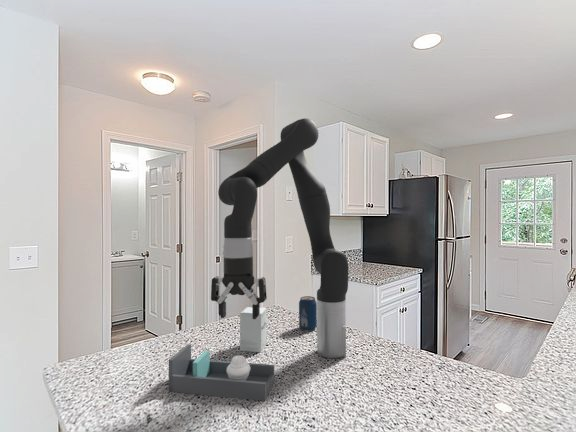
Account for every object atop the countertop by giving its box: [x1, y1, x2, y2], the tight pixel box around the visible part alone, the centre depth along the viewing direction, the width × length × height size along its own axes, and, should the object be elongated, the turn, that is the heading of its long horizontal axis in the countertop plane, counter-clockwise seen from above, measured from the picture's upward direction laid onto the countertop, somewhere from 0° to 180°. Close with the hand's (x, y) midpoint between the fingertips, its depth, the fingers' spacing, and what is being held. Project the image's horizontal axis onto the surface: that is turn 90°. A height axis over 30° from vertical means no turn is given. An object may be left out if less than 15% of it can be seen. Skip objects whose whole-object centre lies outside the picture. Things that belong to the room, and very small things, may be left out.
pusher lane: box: [168, 343, 275, 402], centre depth 83 cm, size 25×10×8 cm, turn 80°
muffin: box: [226, 355, 251, 381], centre depth 83 cm, size 6×6×7 cm
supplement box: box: [239, 306, 267, 353], centre depth 108 cm, size 7×7×13 cm
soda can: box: [298, 295, 317, 332], centre depth 126 cm, size 7×7×12 cm
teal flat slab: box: [193, 349, 211, 377], centre depth 85 cm, size 1×8×6 cm, turn 170°
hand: (239, 317), depth 83 cm, fingers open, 8 cm apart
